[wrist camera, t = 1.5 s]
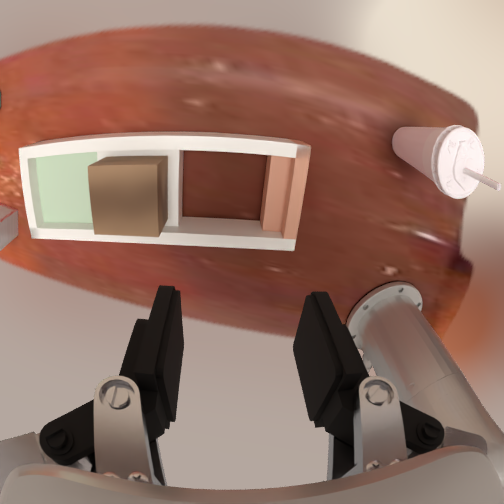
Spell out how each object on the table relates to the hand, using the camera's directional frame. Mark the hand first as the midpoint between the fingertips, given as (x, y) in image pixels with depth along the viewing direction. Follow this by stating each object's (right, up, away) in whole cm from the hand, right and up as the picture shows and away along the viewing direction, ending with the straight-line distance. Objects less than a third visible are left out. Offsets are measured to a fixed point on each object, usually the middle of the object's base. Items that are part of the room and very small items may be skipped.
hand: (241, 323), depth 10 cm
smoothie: (+17, +15, +16) cm, 27 cm away
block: (-10, +9, +14) cm, 19 cm away
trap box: (-9, +10, +16) cm, 21 cm away
